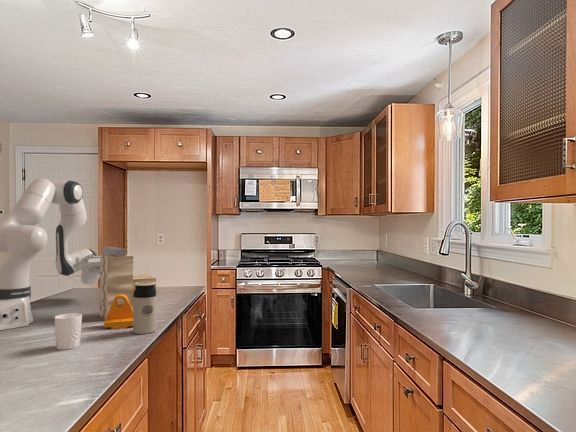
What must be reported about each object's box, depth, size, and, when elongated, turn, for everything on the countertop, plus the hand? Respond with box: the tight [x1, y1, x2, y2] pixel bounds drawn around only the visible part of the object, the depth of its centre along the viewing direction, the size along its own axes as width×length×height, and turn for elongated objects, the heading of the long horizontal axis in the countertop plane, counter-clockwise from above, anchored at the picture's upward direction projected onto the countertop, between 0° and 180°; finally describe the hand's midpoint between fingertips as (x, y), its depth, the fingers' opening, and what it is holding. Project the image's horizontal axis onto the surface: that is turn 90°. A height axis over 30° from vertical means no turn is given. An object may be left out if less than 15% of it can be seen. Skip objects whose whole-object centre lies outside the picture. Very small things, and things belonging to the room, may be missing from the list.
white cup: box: [54, 312, 83, 351], centre depth 133 cm, size 8×8×10 cm
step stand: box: [99, 254, 157, 320], centre depth 179 cm, size 12×20×26 cm, turn 129°
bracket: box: [103, 294, 133, 330], centre depth 159 cm, size 11×7×12 cm, turn 108°
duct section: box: [102, 246, 127, 257], centre depth 179 cm, size 20×4×3 cm, turn 39°
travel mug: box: [132, 282, 157, 335], centre depth 152 cm, size 8×8×18 cm
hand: (102, 254), depth 194 cm, fingers open, 8 cm apart
